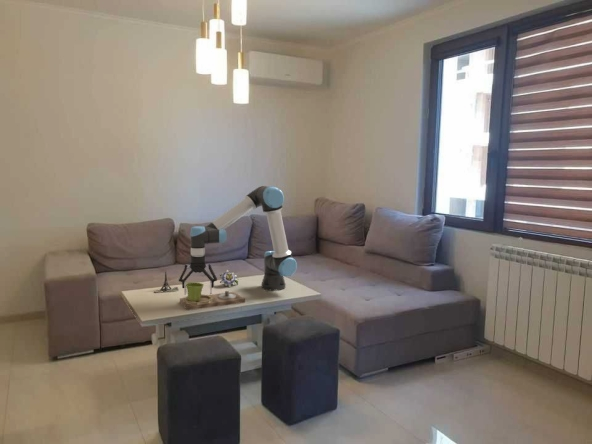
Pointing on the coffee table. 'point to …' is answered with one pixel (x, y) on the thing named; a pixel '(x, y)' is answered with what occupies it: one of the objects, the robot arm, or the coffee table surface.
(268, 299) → the coffee table surface
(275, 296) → the coffee table surface
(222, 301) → the mount board
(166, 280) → the eiffel tower figurine
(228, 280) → the passion flower
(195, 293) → the plant pot
